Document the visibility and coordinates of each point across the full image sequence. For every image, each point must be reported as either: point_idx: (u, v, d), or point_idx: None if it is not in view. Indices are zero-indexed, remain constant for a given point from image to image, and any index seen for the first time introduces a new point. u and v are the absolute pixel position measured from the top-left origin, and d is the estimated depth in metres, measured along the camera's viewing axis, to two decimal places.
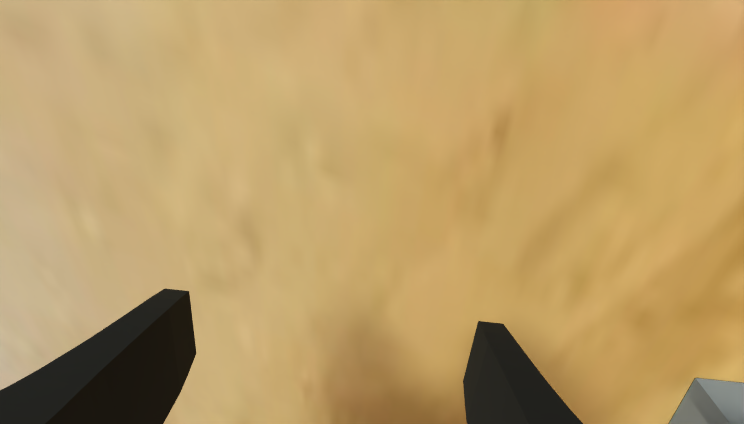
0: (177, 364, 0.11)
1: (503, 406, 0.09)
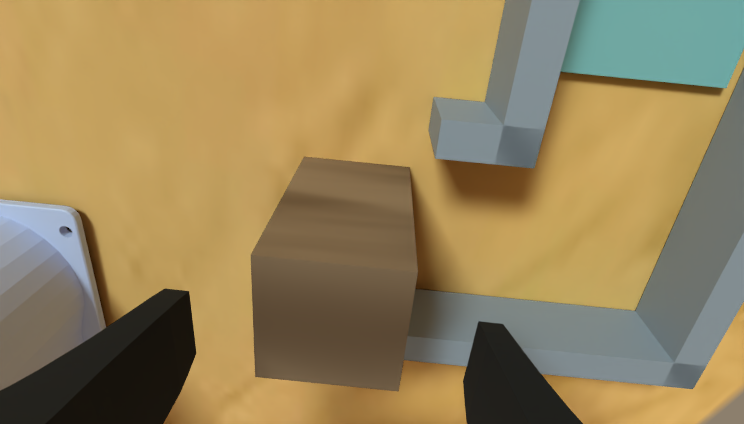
0: (177, 364, 0.11)
1: (503, 406, 0.09)
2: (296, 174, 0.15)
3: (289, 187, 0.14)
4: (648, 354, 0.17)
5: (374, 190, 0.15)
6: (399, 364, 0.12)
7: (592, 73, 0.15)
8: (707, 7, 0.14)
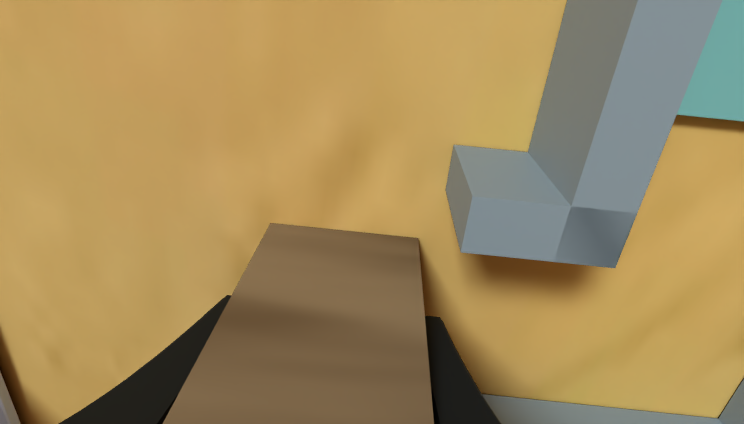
0: None
1: None
2: (253, 259, 0.10)
3: (238, 288, 0.09)
4: None
5: (367, 289, 0.10)
6: None
7: (692, 114, 0.10)
8: None
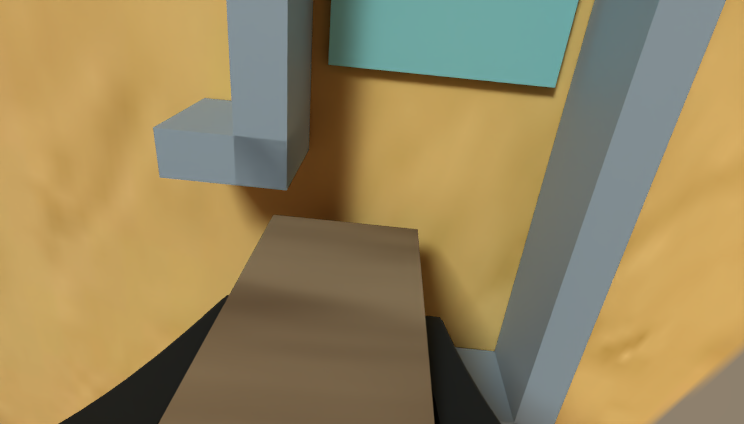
0: None
1: None
2: (257, 248, 0.11)
3: (243, 275, 0.10)
4: None
5: (368, 277, 0.10)
6: None
7: (387, 68, 0.12)
8: None
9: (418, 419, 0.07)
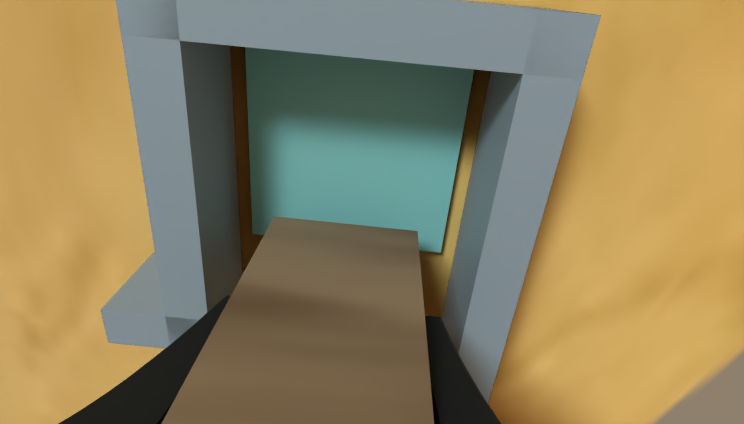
0: None
1: None
2: (258, 250, 0.11)
3: (244, 277, 0.10)
4: None
5: (368, 278, 0.10)
6: None
7: None
8: (398, 181, 0.13)
9: (418, 420, 0.07)
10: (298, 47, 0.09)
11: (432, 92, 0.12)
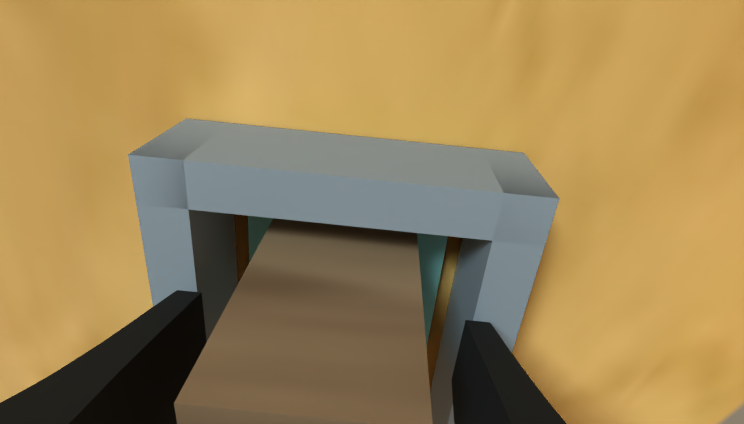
0: (190, 365, 0.11)
1: (487, 404, 0.09)
2: (266, 236, 0.12)
3: (253, 260, 0.10)
4: None
5: (369, 261, 0.11)
6: None
7: None
8: None
9: (415, 383, 0.08)
10: (293, 217, 0.10)
11: None
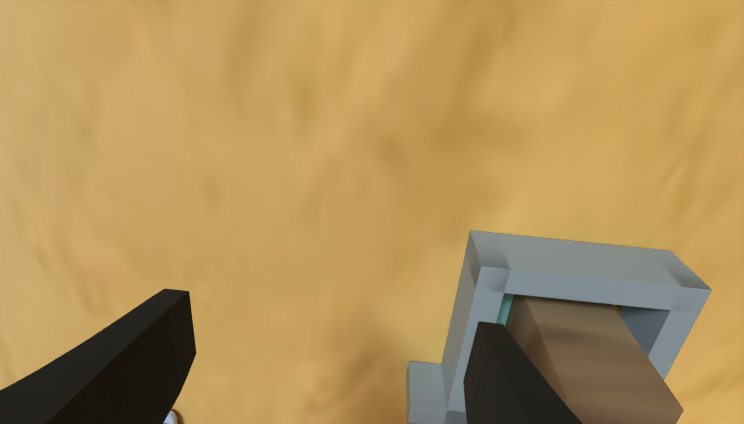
0: (177, 364, 0.11)
1: (503, 406, 0.09)
2: (529, 303, 0.20)
3: (536, 319, 0.19)
4: None
5: (595, 319, 0.19)
6: None
7: None
8: None
9: (663, 389, 0.16)
10: (562, 297, 0.19)
11: None
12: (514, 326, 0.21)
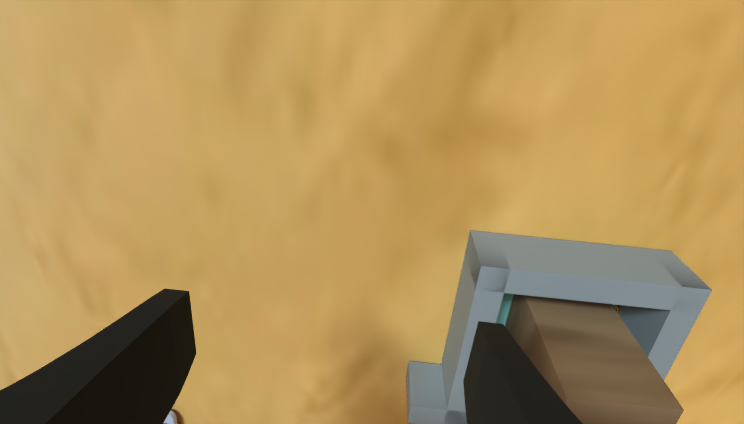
0: (177, 364, 0.11)
1: (503, 406, 0.09)
2: (529, 303, 0.20)
3: (536, 319, 0.19)
4: None
5: (595, 319, 0.19)
6: None
7: None
8: None
9: (663, 389, 0.16)
10: (562, 297, 0.19)
11: None
12: (514, 326, 0.21)
